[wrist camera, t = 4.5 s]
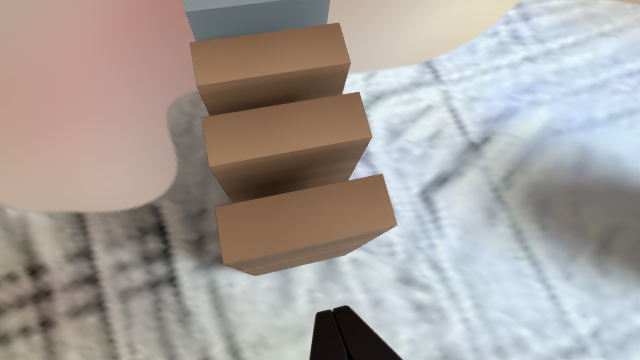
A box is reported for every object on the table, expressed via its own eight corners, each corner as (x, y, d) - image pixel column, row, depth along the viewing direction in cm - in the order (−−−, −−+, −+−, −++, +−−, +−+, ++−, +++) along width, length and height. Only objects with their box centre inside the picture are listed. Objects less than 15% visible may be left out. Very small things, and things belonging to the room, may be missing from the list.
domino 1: (345, 255, 20) (397, 225, 10) (255, 275, 19) (223, 263, 10) (338, 227, 20) (382, 173, 11) (250, 246, 20) (214, 207, 10)
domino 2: (333, 206, 21) (372, 136, 11) (246, 224, 20) (208, 166, 10) (327, 180, 21) (359, 91, 12) (241, 197, 20) (201, 117, 11)
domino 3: (322, 163, 21) (350, 62, 12) (238, 179, 21) (196, 85, 11) (317, 138, 22) (339, 22, 12) (234, 153, 21) (189, 42, 12)
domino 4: (312, 120, 22) (331, -6, 13) (230, 134, 21) (184, 11, 12) (306, 97, 23) (320, -42, 13) (226, 110, 22) (179, -27, 12)
